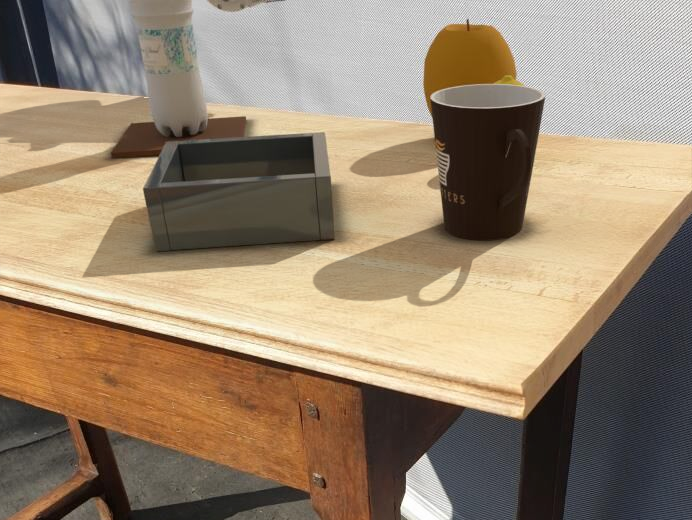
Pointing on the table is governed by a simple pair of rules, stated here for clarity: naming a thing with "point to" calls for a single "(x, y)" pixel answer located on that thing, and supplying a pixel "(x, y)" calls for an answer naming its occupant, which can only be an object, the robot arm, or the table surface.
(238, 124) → the mat
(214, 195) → the grey open box
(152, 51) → the bottle
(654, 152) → the table surface
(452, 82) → the apple
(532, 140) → the coffee mug
